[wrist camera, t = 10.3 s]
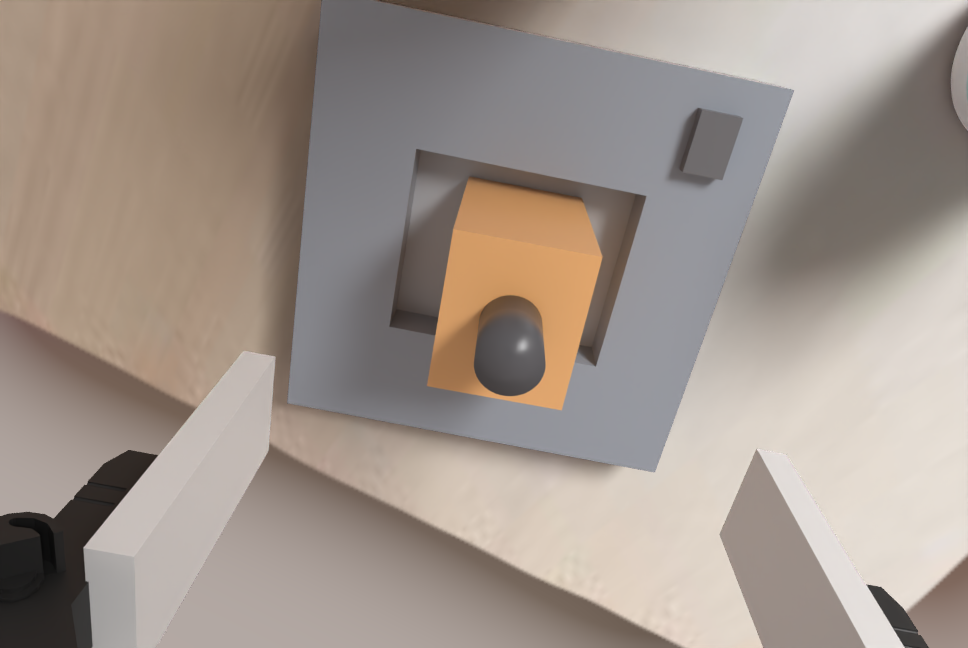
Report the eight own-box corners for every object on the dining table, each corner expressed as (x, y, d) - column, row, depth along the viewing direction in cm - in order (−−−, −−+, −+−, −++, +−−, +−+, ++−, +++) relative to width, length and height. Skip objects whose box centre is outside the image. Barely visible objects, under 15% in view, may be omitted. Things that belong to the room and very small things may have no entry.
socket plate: (338, -8, 28) (318, -11, 25) (771, 84, 28) (800, 92, 25) (302, 377, 35) (283, 409, 32) (646, 443, 36) (657, 479, 33)
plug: (468, 176, 30) (444, 258, 20) (581, 197, 30) (614, 290, 20) (447, 302, 32) (415, 431, 22) (551, 321, 32) (567, 458, 22)
